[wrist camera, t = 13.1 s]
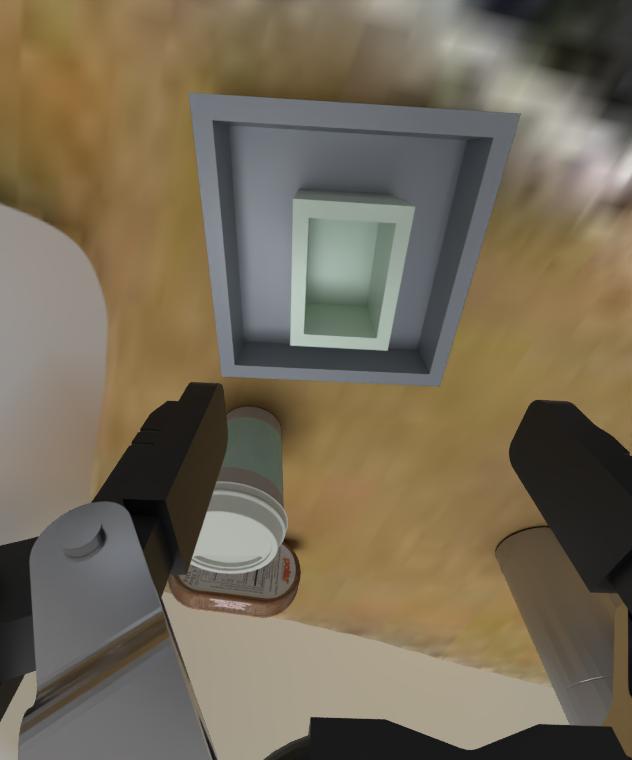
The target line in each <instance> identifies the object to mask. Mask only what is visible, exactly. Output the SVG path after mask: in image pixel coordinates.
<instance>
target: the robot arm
mask: <svg viewBox="0 0 632 760" xmlns="http://www.w3.org/2000/svg"><path fill="white" fill-rule="evenodd" d="M227 444H228V425H227V416H226V408H225V399H224V390H223V386H222V384H219V383H199V382H191V383H189V384H188V386H187V388H186V389H185V391H184V393H183V395H182V396H181V398H180V400H179V401H167V402H166V403H164V404H163V405H161V406H160V407H159V408H157V409H156V410H155V411H153V412H152V413H151V414H150V415H149V417H148V418H147V420H146V421H145V423H144V424H143V426H142V427H141V429H140V432H138V433H137V435H136V436H135V438H134V439H133V441H132V445H131V446H129V447H128V448H127V450H126V451H125V453H124V454H123V456H122V457H121V459H120V461H119V462H118V464H117V465H116V467H115V468H114V470H113V471H112V473H111V474H110V476H109V477H108V479H107V480H106V482H105V483H104V485H103V486H102V488H101V489H100V491H99V492H98V494H97V495H96V497H95V498H94V500H93V501H92V502H91V503H89V504H85V505H82V506H79V507H77V508H75V509H73V510H70V511H69V512H67V513H65V514H64V515H62V516H60V517H59V518H57V519H56V520H55V521H53V522H52V523H51V524H50V525H49V526H48V527H47V528H46V529H45V530H44V531H43V532H42V533H41V534H40V536H38V537H35V538H31V539H28V540H23V541H19V542H14V543H10V544H6V545H1V546H0V721H1V719H2V718H3V715H4V714H5V712H6V710H7V708H8V706H9V704H10V702H11V700H12V698H13V696H14V695H15V693H16V691H17V689H18V687H19V685H20V683H21V681H22V679H23V677H24V675H25V674H27V673H30V672H33V671H36V677H37V695H36V700H35V703H34V705H33V707H31V708H29V709H28V710H27V711H26V713H25V714H24V717H23V719H22V723H21V727H20V733H19V744H18V760H218V758H217V755H216V752H215V749H214V746H213V743H212V740H211V738H210V735H209V732H208V729H207V726H206V723H205V721H204V718H203V715H202V712H201V709H200V707H199V704H198V701H197V698H196V696H195V693H194V690H193V687H192V684H191V681H190V678H189V676H188V673H187V670H186V667H185V664H184V661H183V658H182V656H181V652H180V650H179V646H178V644H177V641H176V638H175V635H174V632H173V629H172V626H171V623H170V620H169V618H168V615H167V612H166V609H165V606H164V603H163V600H162V594H163V591H164V588H165V586H166V583H167V580H168V577H169V575H170V574H172V575H187V572H188V569H189V566H190V563H191V560H192V557H193V554H194V550H195V547H196V544H197V541H198V538H199V535H200V532H201V529H202V526H203V522H204V519H205V516H206V513H207V510H208V507H209V504H210V501H211V497H212V494H213V491H214V488H215V485H216V482H217V479H218V476H219V472H220V469H221V466H222V463H223V460H224V457H225V454H226V450H227ZM629 454H630V452H629V451H627V450H626V449H625V448H624V447H623V446H622V445H621V444H620V443H619V442H618V441H617V440H616V439H615V438H614V437H613V436H611V435H610V434H608V433H607V432H605V431H603V430H602V429H600V428H599V427H597V426H596V425H594V424H593V423H592V422H591V421H590V420H589V419H588V418H587V417H586V416H585V415H584V414H583V413H582V412H581V411H580V410H579V409H578V408H577V407H576V406H575V405H574V404H572V403H571V402H568V401H550V400H535V401H533V402H532V403H531V404H530V405H529V407H528V409H527V411H526V413H525V415H524V417H523V419H522V421H521V423H520V425H519V427H518V429H517V431H516V434H515V436H514V438H513V440H512V442H511V444H510V448H509V458H510V462H511V465H512V467H513V469H514V470H515V472H516V474H517V475H518V477H519V479H520V480H521V482H522V483H523V485H524V487H525V488H526V490H527V491H528V493H529V495H530V496H531V498H532V500H533V501H534V503H535V504H536V506H537V508H538V509H539V511H540V512H541V514H542V516H543V517H544V519H545V520H546V522H547V524H548V525H549V527H550V528H548V527H542V528H533V529H528V530H525V531H522V532H519V533H516V534H514V535H512V536H510V537H509V538H507V539H505V540H504V541H503V542H502V543H501V544H500V545H499V546H498V548H497V550H496V558H497V561H498V563H499V565H500V568H501V571H502V573H503V574H504V577H505V579H506V581H507V584H508V586H509V588H510V591H511V593H512V595H513V598H514V600H515V602H516V604H517V607H518V609H519V611H520V613H521V616H522V618H523V620H524V623H525V625H526V627H527V629H528V632H529V634H530V636H531V638H532V641H533V643H534V645H535V648H536V650H537V652H538V654H539V657H540V659H541V661H542V663H543V666H544V668H545V670H546V672H547V675H548V677H549V679H550V682H551V684H552V686H553V688H554V691H555V693H556V695H557V697H558V699H559V702H560V704H561V706H562V709H563V711H564V713H565V715H566V717H567V720H568V722H569V724H570V725H546V724H538V725H536V726H533V727H531V728H528V729H526V730H523V731H521V732H518V733H516V734H513V735H511V736H508V737H506V738H503V739H501V740H498V741H496V742H493V743H491V744H488V745H486V746H483V747H481V748H478V749H475V750H465V749H461V748H458V747H456V746H453V745H450V744H448V743H445V742H443V741H440V740H438V739H435V738H432V737H430V736H427V735H425V734H422V733H419V732H417V731H414V730H412V729H409V728H406V727H404V726H401V725H398V724H396V723H393V722H391V721H388V720H385V719H383V720H382V719H352V718H320V717H311V719H310V726H309V734H308V736H305V737H303V738H300V739H297V740H295V741H293V742H290V743H288V744H287V745H285V746H283V747H281V748H280V749H278V750H276V751H274V752H273V753H271V754H270V755H269V756H268V757H266V758H265V759H264V760H632V456H630V455H629Z"/></svg>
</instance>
